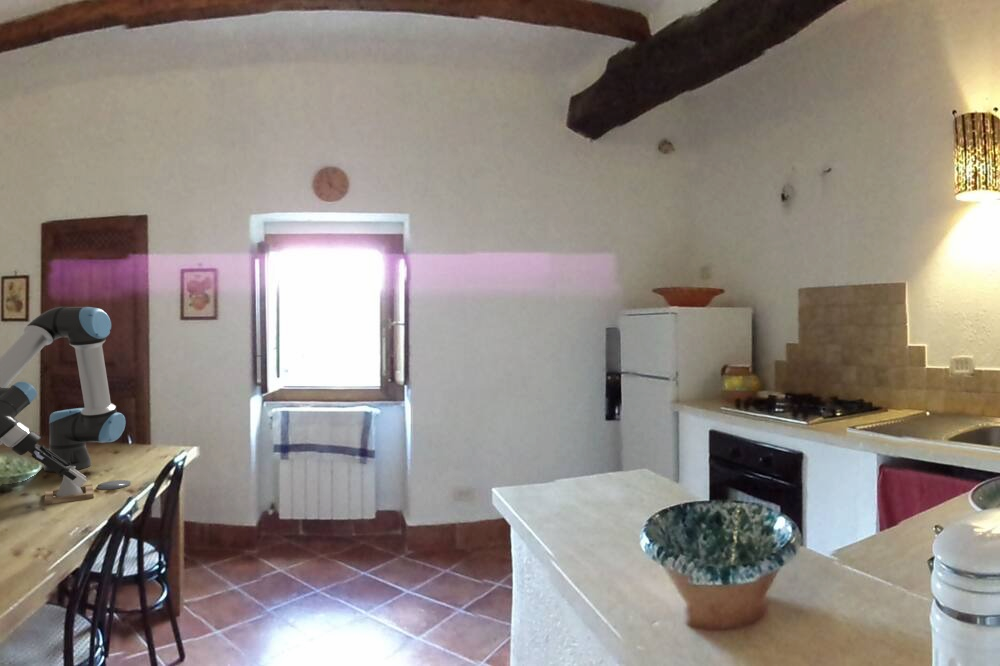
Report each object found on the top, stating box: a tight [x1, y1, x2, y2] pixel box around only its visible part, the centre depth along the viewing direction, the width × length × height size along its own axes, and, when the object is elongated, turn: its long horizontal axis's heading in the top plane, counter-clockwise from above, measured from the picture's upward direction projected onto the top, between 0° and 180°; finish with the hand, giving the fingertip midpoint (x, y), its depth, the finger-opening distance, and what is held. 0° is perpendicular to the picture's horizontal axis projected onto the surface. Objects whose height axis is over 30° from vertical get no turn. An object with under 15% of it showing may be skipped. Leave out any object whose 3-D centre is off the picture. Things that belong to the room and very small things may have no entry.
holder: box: [44, 484, 95, 506], centre depth 199 cm, size 13×13×2 cm
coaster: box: [96, 479, 132, 491], centre depth 212 cm, size 10×10×1 cm
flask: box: [55, 466, 84, 497], centre depth 199 cm, size 7×7×10 cm
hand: (83, 482), depth 201 cm, fingers open, 4 cm apart
